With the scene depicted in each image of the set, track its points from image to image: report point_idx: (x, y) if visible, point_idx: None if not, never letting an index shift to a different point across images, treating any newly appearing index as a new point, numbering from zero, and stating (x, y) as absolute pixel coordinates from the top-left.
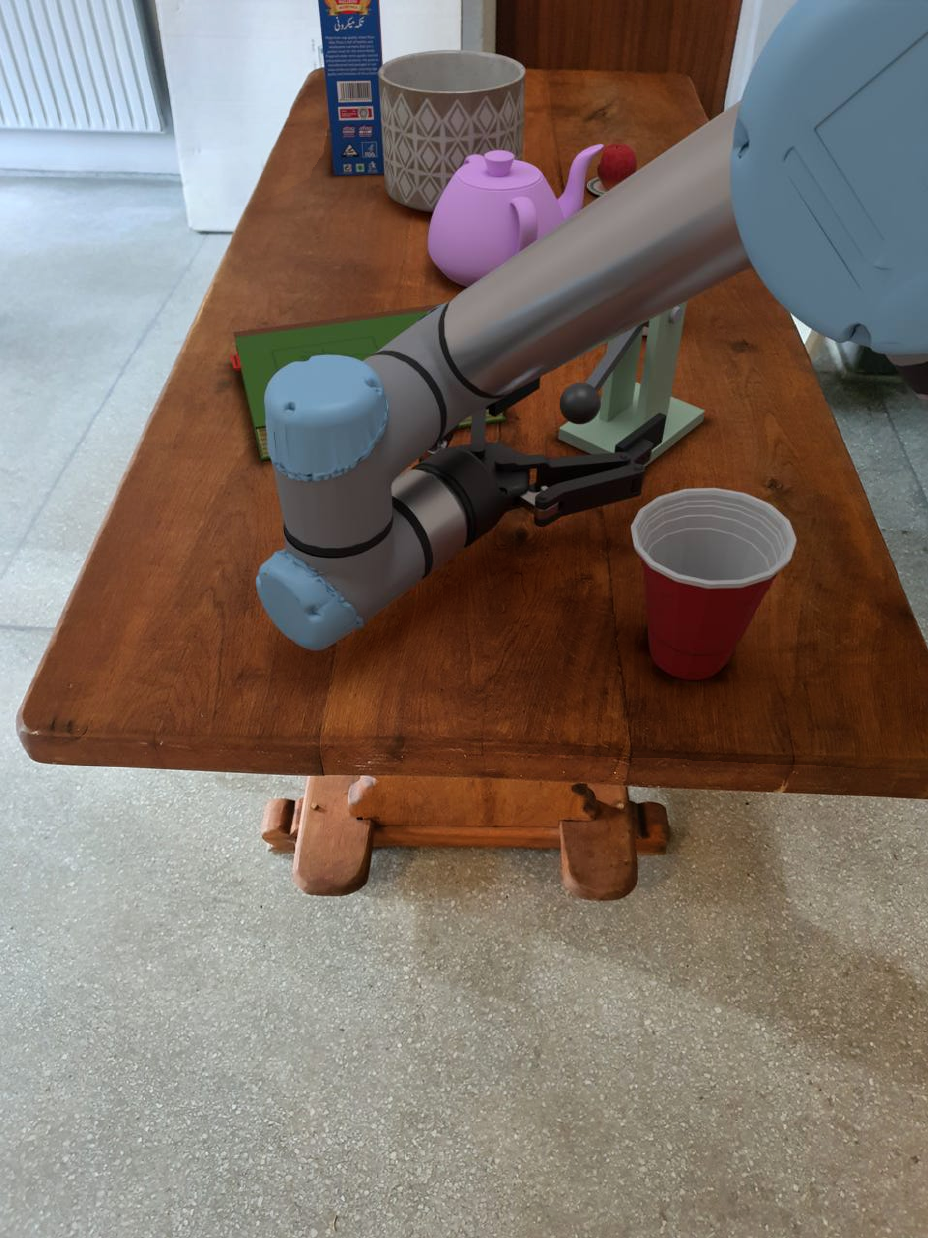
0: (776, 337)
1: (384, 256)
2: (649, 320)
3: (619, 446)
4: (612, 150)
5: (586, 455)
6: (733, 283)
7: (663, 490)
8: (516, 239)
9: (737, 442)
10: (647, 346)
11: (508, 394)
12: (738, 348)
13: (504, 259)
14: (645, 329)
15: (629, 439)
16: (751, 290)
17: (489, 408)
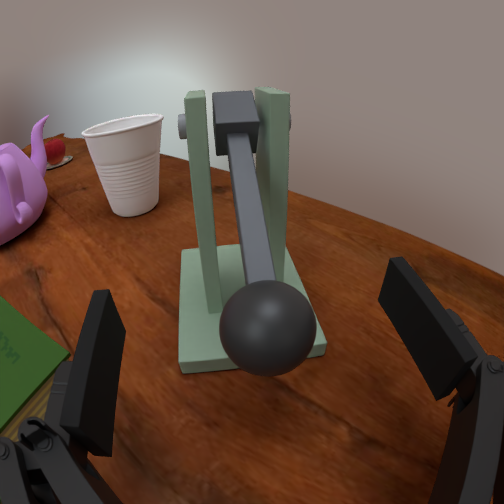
0: (230, 177)
1: None
2: (256, 136)
3: (472, 358)
4: (49, 143)
5: (476, 431)
6: (165, 165)
7: (369, 348)
8: (6, 190)
9: (330, 252)
10: (273, 175)
11: (100, 397)
12: (219, 191)
13: (2, 211)
14: (144, 207)
15: (455, 332)
16: (180, 164)
17: (89, 450)
